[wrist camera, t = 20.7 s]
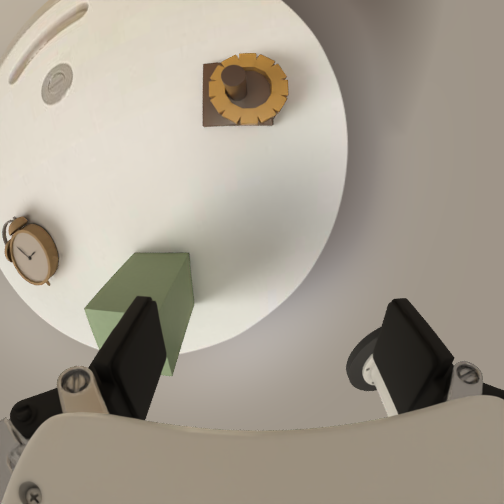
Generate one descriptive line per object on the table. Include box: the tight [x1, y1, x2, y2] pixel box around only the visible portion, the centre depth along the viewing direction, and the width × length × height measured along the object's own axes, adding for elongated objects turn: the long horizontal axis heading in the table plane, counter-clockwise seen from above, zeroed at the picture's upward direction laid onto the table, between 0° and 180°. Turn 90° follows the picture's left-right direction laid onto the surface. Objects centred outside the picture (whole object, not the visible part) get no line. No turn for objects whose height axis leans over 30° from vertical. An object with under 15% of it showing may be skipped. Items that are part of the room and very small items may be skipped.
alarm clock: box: [2, 217, 59, 286], centre depth 37 cm, size 11×5×15 cm
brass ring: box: [209, 53, 288, 125], centre depth 29 cm, size 10×10×2 cm
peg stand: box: [203, 63, 273, 127], centre depth 27 cm, size 9×9×10 cm
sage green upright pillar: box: [84, 253, 194, 376], centre depth 34 cm, size 9×9×16 cm
